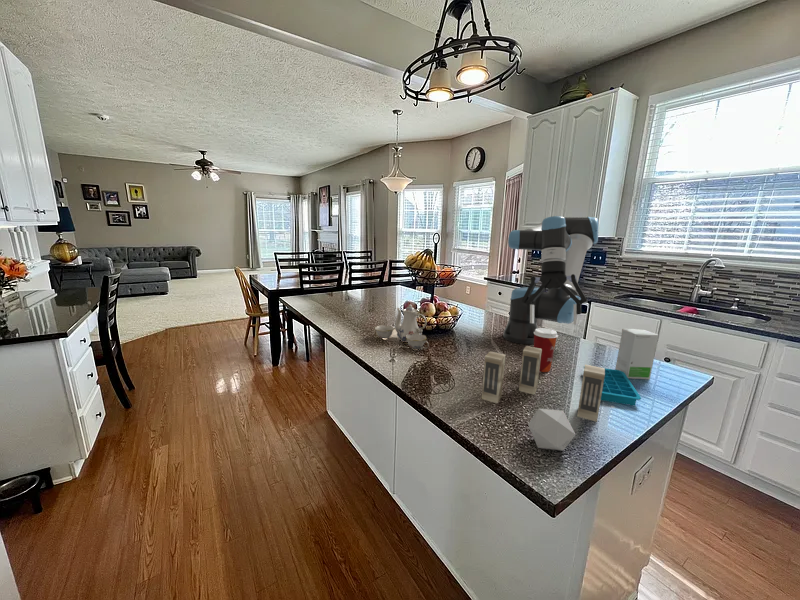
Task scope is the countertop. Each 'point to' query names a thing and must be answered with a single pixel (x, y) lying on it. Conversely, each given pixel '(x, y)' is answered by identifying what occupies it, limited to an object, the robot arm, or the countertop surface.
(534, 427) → the die
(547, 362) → the paper cup
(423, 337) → the chinaware
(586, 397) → the post
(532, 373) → the post
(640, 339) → the skincare box
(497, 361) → the post
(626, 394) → the ice cube tray
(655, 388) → the countertop surface
